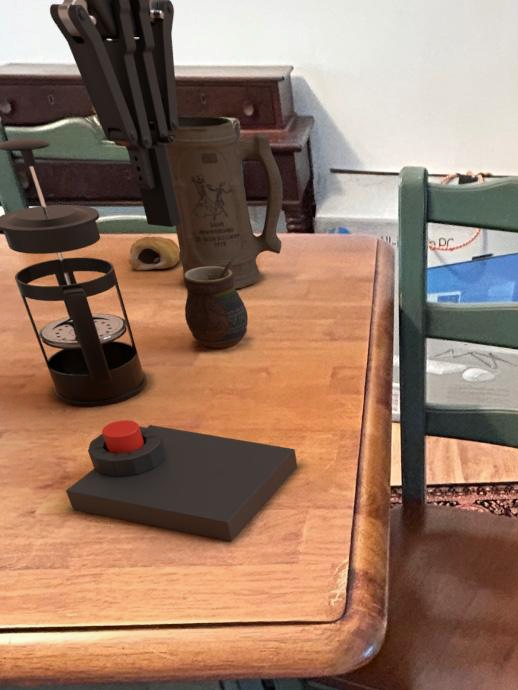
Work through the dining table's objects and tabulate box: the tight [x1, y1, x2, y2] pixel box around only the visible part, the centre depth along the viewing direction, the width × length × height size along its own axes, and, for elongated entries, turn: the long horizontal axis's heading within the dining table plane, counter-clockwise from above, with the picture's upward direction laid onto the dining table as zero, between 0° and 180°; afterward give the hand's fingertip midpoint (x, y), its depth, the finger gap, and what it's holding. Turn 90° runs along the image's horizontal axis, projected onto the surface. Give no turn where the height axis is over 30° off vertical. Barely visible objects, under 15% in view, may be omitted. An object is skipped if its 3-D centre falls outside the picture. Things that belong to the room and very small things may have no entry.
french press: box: [0, 137, 148, 407], centre depth 72 cm, size 12×9×23 cm
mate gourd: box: [182, 259, 249, 349], centre depth 86 cm, size 7×8×10 cm
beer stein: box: [166, 115, 284, 290], centre depth 101 cm, size 15×11×20 cm
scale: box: [65, 424, 298, 542], centre depth 64 cm, size 16×12×4 cm
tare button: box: [101, 419, 144, 454], centre depth 63 cm, size 3×3×2 cm
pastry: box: [128, 236, 180, 271], centre depth 111 cm, size 9×7×4 cm
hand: (164, 223), depth 71 cm, fingers closed
